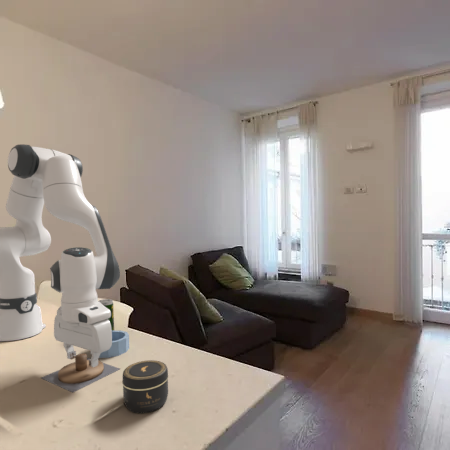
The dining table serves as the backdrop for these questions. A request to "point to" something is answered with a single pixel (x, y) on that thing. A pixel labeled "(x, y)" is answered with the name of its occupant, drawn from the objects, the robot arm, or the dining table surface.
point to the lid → (80, 370)
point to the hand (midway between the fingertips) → (82, 362)
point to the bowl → (117, 344)
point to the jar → (145, 386)
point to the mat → (74, 387)
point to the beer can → (109, 304)
